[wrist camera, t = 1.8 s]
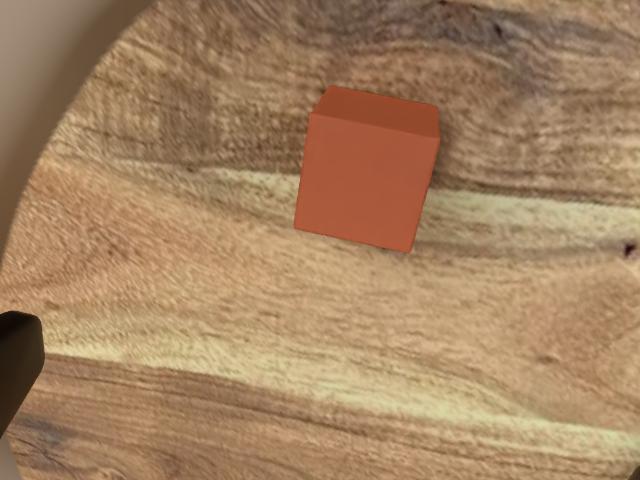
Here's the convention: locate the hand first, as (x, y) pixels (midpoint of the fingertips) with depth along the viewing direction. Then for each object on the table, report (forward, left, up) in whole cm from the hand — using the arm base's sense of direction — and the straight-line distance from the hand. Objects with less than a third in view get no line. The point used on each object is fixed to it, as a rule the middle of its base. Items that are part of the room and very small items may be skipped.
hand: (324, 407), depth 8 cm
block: (0, 0, -12) cm, 12 cm away
